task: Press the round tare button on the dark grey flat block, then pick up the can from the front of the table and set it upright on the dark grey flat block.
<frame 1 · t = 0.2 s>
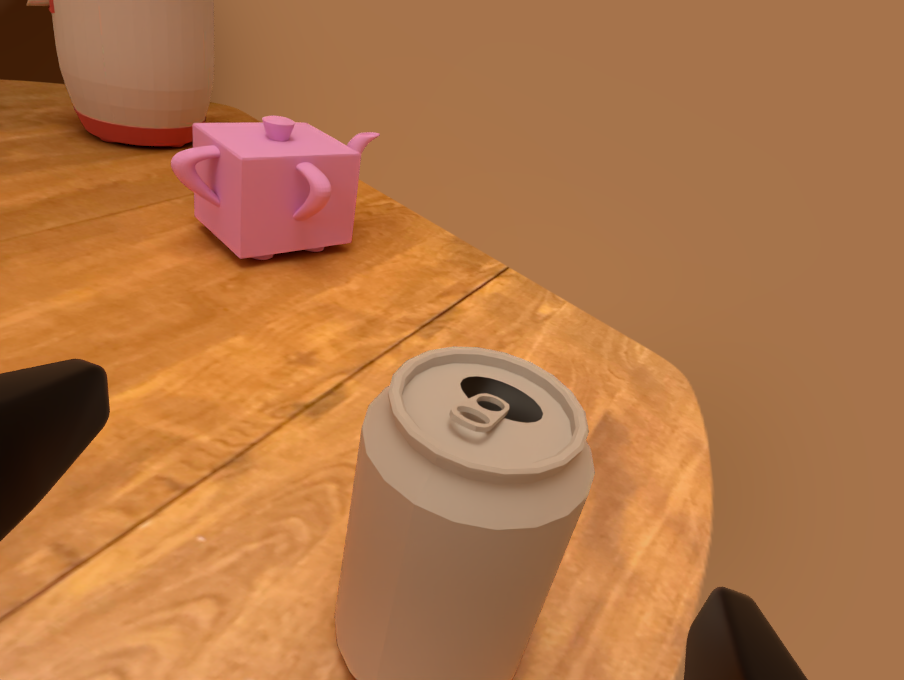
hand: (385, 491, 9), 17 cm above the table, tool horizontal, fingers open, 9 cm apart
citrus juicer: (135, 134, 71), on the table
teapot: (284, 242, 54), on the table
can: (426, 636, 25), on the table
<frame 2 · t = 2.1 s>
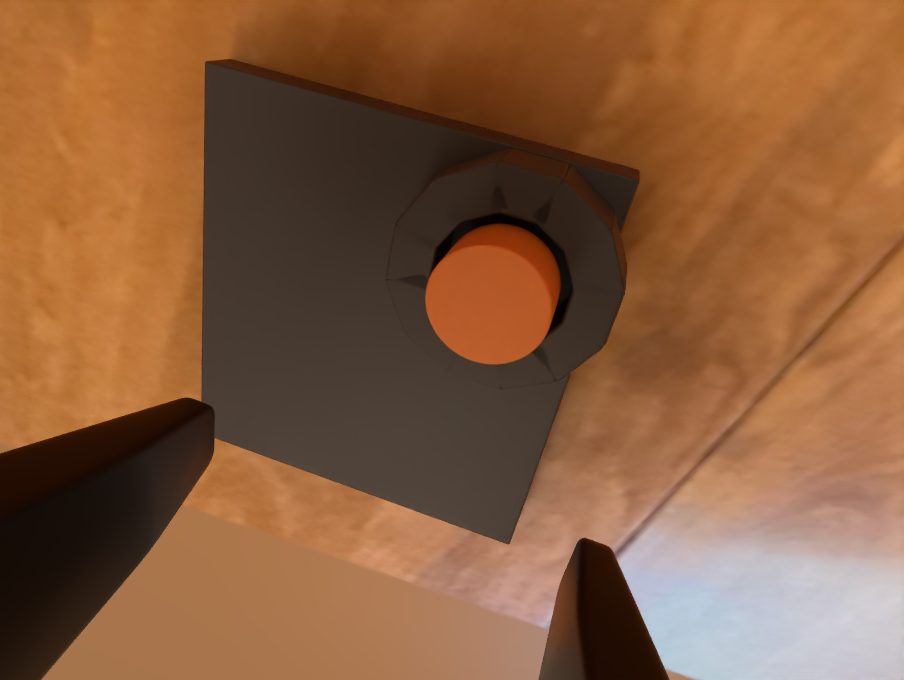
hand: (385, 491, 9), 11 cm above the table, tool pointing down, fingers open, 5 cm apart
tare button: (494, 293, 15), point 4 cm above the table, slide at 0.2 cm
dark grey flat block: (388, 317, 20), on the table
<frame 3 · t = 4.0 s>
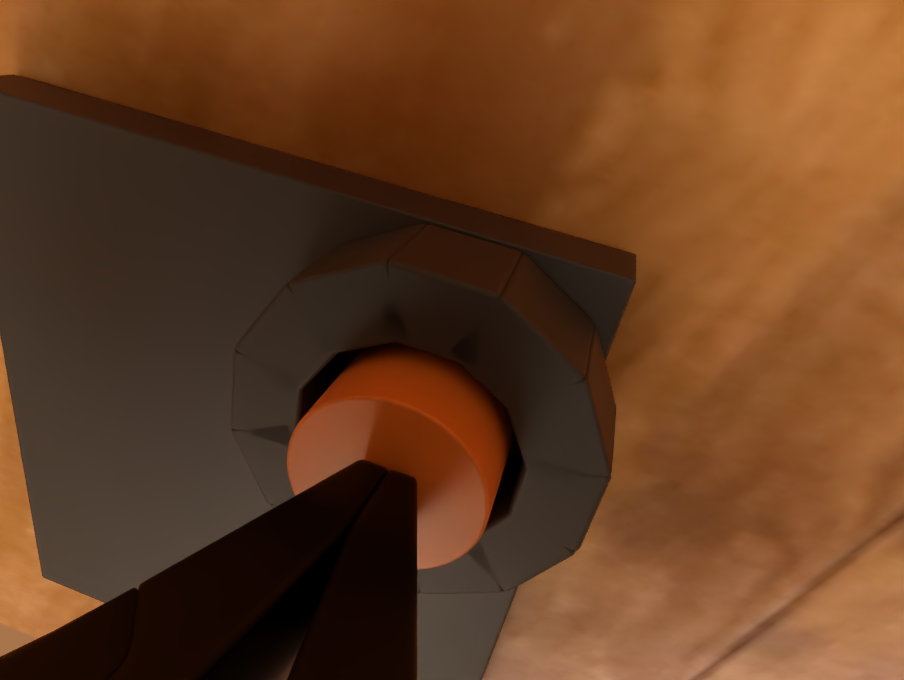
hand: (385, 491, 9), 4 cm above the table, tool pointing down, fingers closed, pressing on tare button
tare button: (404, 452, 10), point 3 cm above the table, slide at -0.4 cm, touching gripper
dark grey flat block: (278, 440, 14), on the table
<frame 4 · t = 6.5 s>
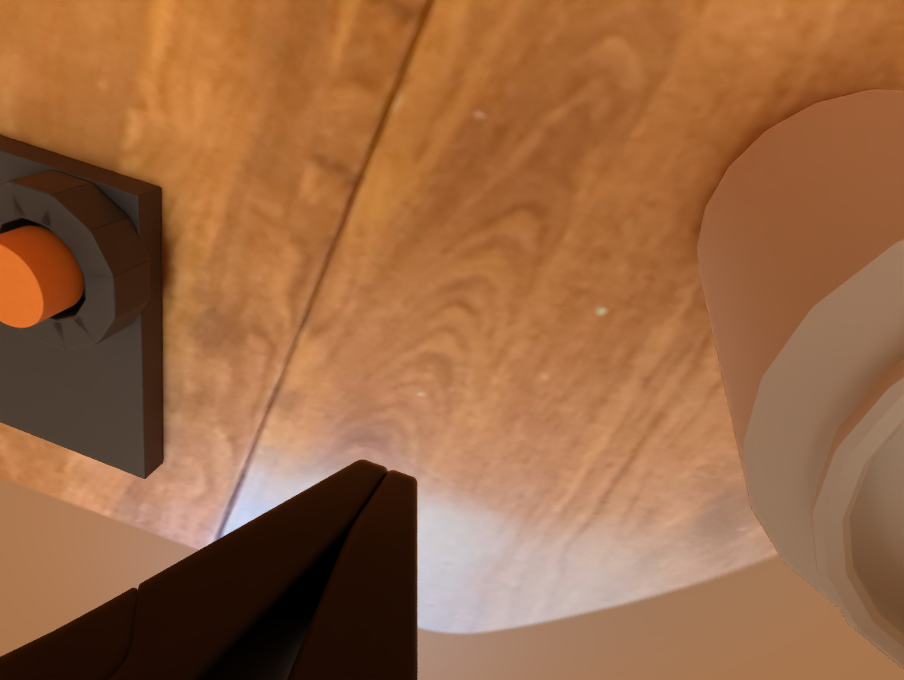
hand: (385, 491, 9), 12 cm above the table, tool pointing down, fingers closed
tare button: (25, 276, 21), point 4 cm above the table, slide at 0.2 cm
can: (839, 230, 17), on the table
dark grey flat block: (34, 296, 26), on the table
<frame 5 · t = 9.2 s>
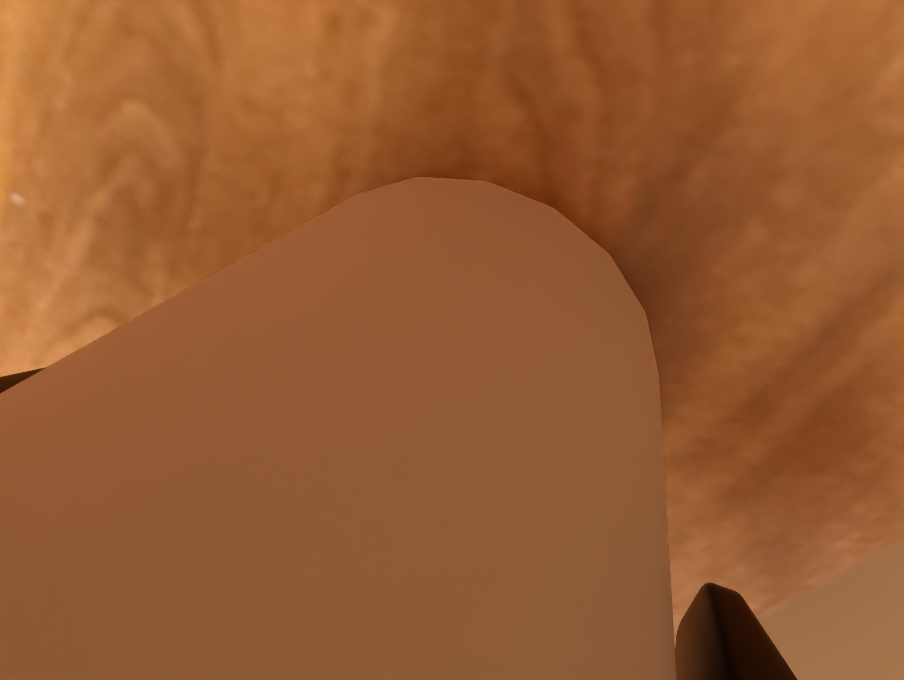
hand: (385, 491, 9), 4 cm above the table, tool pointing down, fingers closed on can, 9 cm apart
can: (464, 351, 13), on the table, touching gripper
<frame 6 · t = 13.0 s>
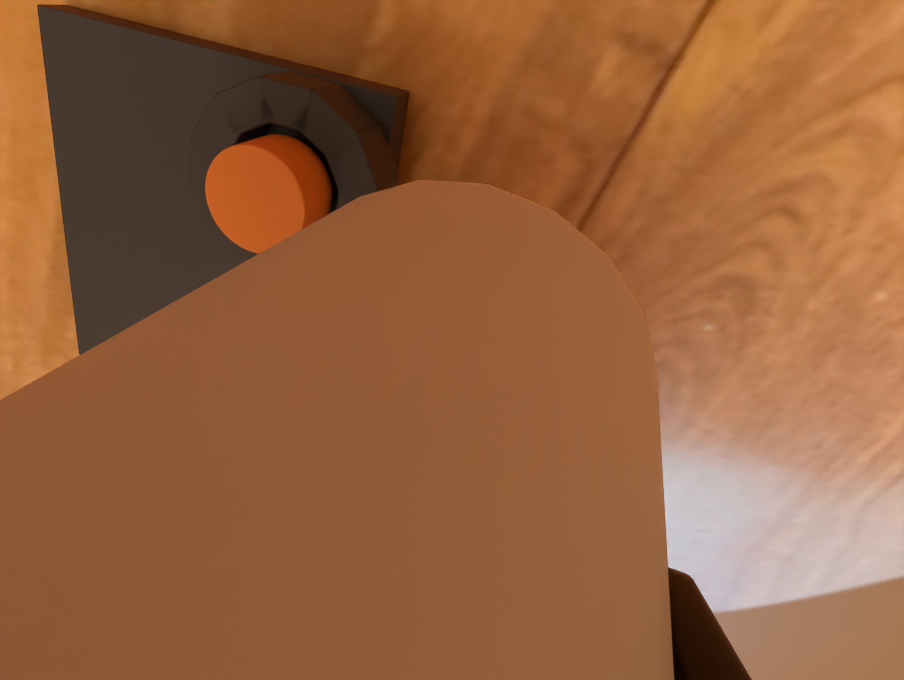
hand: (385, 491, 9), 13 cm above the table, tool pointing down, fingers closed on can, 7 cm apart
tare button: (270, 193, 18), point 4 cm above the table, slide at 0.2 cm
can: (465, 351, 13), point 8 cm above the table, touching gripper
dark grey flat block: (228, 238, 23), on the table
when the fingers open (6 cm above the table, at t = 16.8 s): can stays where it is, resting on dark grey flat block.
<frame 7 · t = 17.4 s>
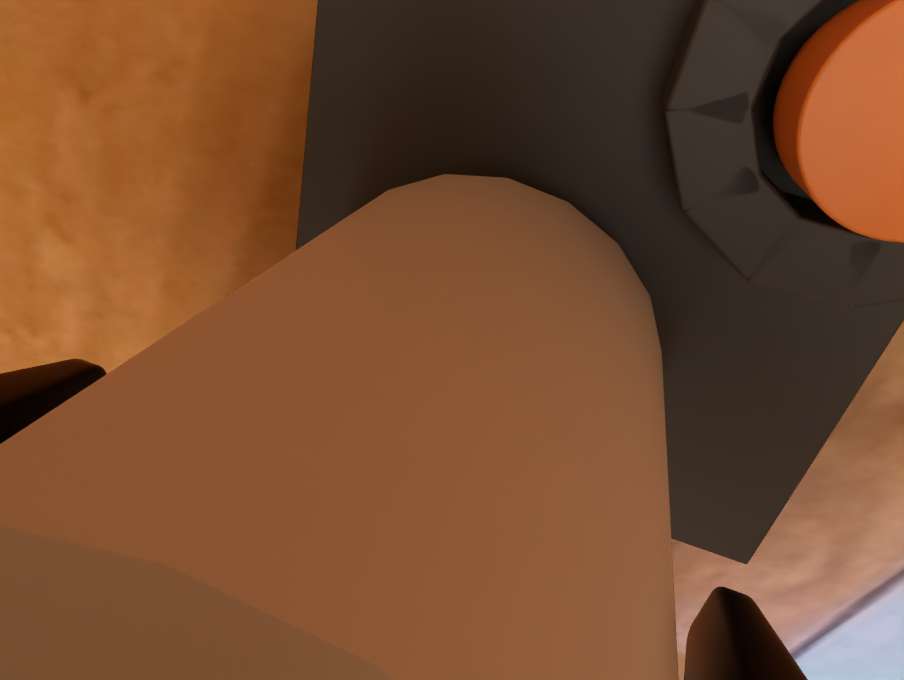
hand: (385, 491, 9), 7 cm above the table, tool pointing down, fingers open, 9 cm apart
can: (483, 332, 14), point 1 cm above the table, touching dark grey flat block
dark grey flat block: (587, 218, 13), on the table
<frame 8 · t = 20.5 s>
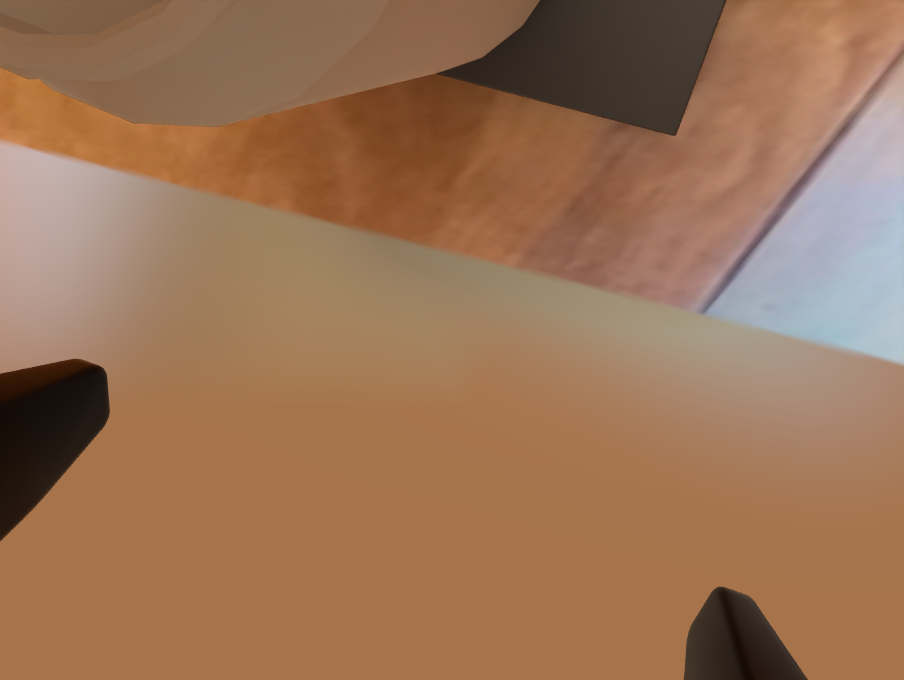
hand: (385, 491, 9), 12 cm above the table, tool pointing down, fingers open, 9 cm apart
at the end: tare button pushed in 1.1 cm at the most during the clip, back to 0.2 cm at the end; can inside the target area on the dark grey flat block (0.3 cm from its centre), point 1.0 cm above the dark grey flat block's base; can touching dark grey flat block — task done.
